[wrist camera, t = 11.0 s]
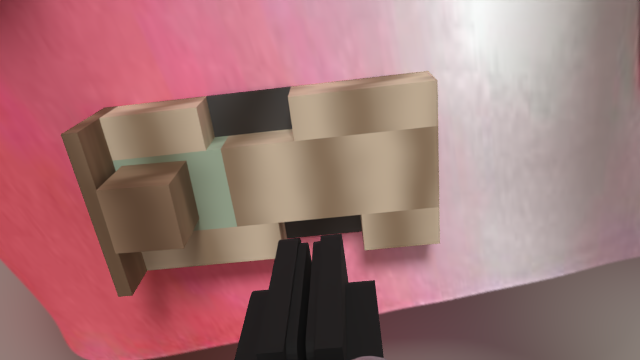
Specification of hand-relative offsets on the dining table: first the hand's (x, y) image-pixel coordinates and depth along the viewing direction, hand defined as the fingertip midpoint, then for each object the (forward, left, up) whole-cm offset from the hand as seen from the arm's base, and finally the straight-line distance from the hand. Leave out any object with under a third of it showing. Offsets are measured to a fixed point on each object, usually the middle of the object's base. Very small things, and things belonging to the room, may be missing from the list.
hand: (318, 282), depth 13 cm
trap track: (+4, +5, -22) cm, 23 cm away
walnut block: (+12, +5, -19) cm, 23 cm away
